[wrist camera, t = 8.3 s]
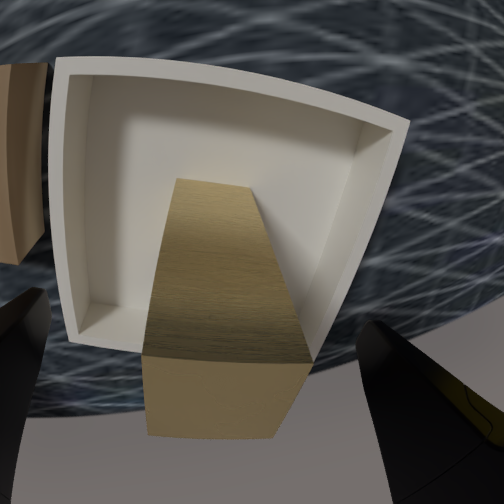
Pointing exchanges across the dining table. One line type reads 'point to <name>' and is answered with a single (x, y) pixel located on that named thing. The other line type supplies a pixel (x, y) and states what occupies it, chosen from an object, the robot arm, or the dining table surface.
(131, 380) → the dining table surface
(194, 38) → the dining table surface
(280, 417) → the pin
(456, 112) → the dining table surface
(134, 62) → the tray
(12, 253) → the block
